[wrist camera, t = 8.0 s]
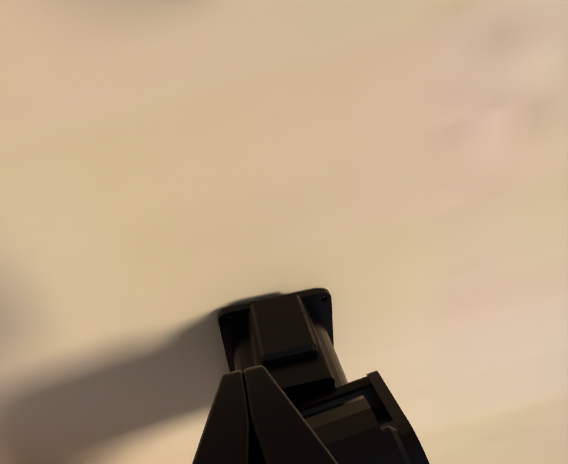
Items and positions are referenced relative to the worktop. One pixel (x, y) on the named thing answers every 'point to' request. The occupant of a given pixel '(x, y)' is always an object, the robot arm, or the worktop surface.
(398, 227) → the worktop surface
